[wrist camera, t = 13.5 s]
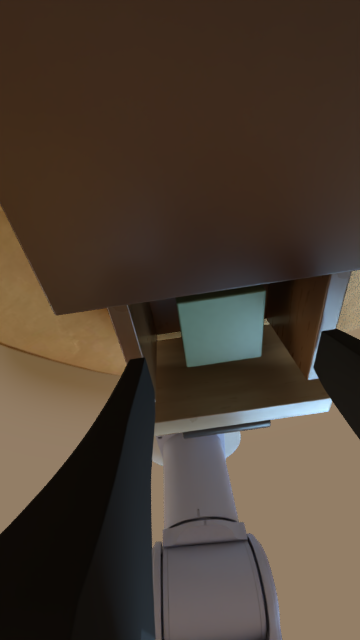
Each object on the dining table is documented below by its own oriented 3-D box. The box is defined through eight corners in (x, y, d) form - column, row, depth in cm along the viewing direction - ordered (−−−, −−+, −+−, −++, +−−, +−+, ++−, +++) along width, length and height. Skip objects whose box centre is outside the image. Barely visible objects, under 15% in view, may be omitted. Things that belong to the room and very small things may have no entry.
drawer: (274, 374, 21) (315, 453, 16) (154, 391, 21) (152, 476, 16) (301, 131, 12) (428, 109, 6) (89, 165, 12) (29, 173, 6)
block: (241, 316, 16) (261, 357, 13) (181, 325, 16) (186, 368, 13) (241, 258, 14) (266, 289, 11) (172, 268, 14) (176, 303, 11)
